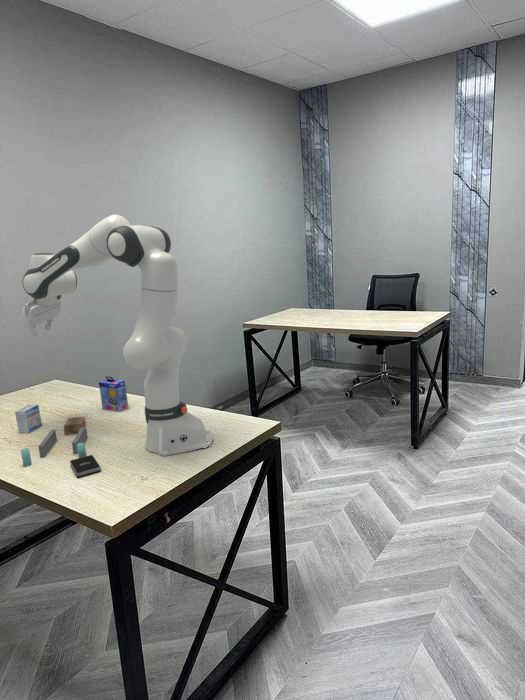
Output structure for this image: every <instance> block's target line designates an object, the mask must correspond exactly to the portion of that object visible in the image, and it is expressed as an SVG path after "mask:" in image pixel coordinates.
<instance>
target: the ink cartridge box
mask: <svg viewBox="0 0 525 700" xmlns="http://www.w3.org/2000/svg"><path fill="white" fill-rule="evenodd" d="M104 377H105V379H102V380H100V381H98V387H99V393H100V399H101V406H102V410H105V411H112V412H119V413H120V412H122V411H124V410H126V409H129V403H128V395H127V389H126V388H127V387H126V383H125V382H126V381H125V380H124V379H114V378H113V377H112V376H104Z"/></svg>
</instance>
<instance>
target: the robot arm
mask: <svg viewBox="0 0 525 700" xmlns="http://www.w3.org/2000/svg"><path fill="white" fill-rule="evenodd" d="M171 247H172V241H171V238H170V235H169V234H168V232H167V231H165V230H164V229H163V228H160V227H157V226H152V225H151V226H146V225H142V224H135V225H134V224H132V225H131V223H130V221H129V220H128V219H127V218H125V217H124V216H122V215H120V214H111V215H108V216H106V217H104V218H103V219H102V220H100V221H99V222H97V223H96V224H95V225H94V226H92V227H91V228H90V229H89V230H88V231H86V232H85V233H84V234H83V235H82V236H81V237H80V238H78V239H76V240H75V241H74V242H72V243H71V244H69V245H67V246H66V247H65V248H63V249H61V250H59V252H57V253H55V254H54V253H53V252H37V253H33V254H32V255H31V257H30V260H29V266H28V267H29V268H28V270H27V271H26V272H25V273H24V276H23V277H22V287H23V290H24V291H25V293H26V294H27V295H28V297H27V298H28V301H27V302H26V304H25V305H24V306H23V308H22V313H21V318H20V319H21V320H20V321H21V324H20V325H21V326H22V327H23V328H28V330H29V331H30V334H29V335H30V337H32V338H35V337H38V331H37V330H36V329H37V326H38V325H41V324H42V323H45V322H46V323H45V324H44V330H46V331H47V330H48V331H49V330H51V329H52V324H53V321H54V318H56V317H58V316H59V315H60V313H61V305H62V304H61V301H62V300H61V299H62V297H63V296H64V295H67V294H68V295H69V294H71V293H74V292H75V290H76V289H77V287H78V277H77V274H76V273H75V271H74V270H78V269H81V268H88V267H96V266H100V265H103V264H105V263H107V262H110V261H111V260H112V259H115V260H116V261H119V262H121V263H124V264H125V265H127V266H129V267H131V268H135V267H138V268H139V269H140V272H141V285H140V286H141V287H140V304H139V312H138V317H137V321H136V324H135V326H134V329H133V331H132V334H131V336H130V338H129V339H128V340H127V342H126V343H125V344H124V345H123V349H122V350H123V351H122V355H123V359H124V361H125V363H126V365H128V367H130V368H131V369H133V370H138V371H140V370H141V371H142V370H148V372H147V375H146V378H145V379H144V382H143V393H144V402H145V406H144V417H145V419H144V420H145V421H146V422H145V423H146V425H147V427H146V441H145V446H144V447H145V450H147V451H149V452H150V453H156V454H159V455H161V456H163V457H167V456H171V455H172V456H173V455H176V454H181V453H182V454H183V453H187V451H188V452H191V451H192V450H193V451H196V450H195V449H199V448H204V447H207V446H209V445H210V444H211V443H212V444H213V442H212V440H213V441H214V438H213V434H212V432H211V431H210V430H208V429H206V427H205V424H204V422H203V421H202V419H201V418H200V417H197V416H196V415H193V414H192V413H191V412H188V407H187V404H186V402H185V401H181V400H180V394H179V393H180V391H179V375H180V374H179V372H180V366H181V362H182V357H183V354H184V352H185V351H186V348H187V346H188V339H187V336H186V334H185V332H184V331H183V330H182V329H181V328H179V327H177V326H176V327H175V326H170V324H171V322H172V320H173V319H174V318H175V316H176V314H177V304H178V303H177V302H178V289H179V288H178V283H179V282H178V268H177V267H178V266H177V262H176V261H177V260H176V258H175V257H174V256H173V255H172V254H170V250H171ZM208 442H209V443H208ZM212 444H211V445H212ZM211 445H210V446H211ZM210 446H209V447H210ZM204 449H205V448H204ZM199 450H200V449H199ZM193 451H192V452H193Z"/></svg>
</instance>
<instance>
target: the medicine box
mask: <svg viewBox="0 0 525 700" xmlns="http://www.w3.org/2000/svg"><path fill="white" fill-rule="evenodd" d="M14 412H15V413H14V415H15V418H16V425H17V428H18V429H17V430H18V433H19V434H30V433H32V432H34V431H35V430H37V429H39V428H40V427H42V426H43V424H42V417H41V411H40V406H39V404H28V405H26V406H24V407H22V408H19V409H18V410H15V411H14ZM33 430H34V431H33Z"/></svg>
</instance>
